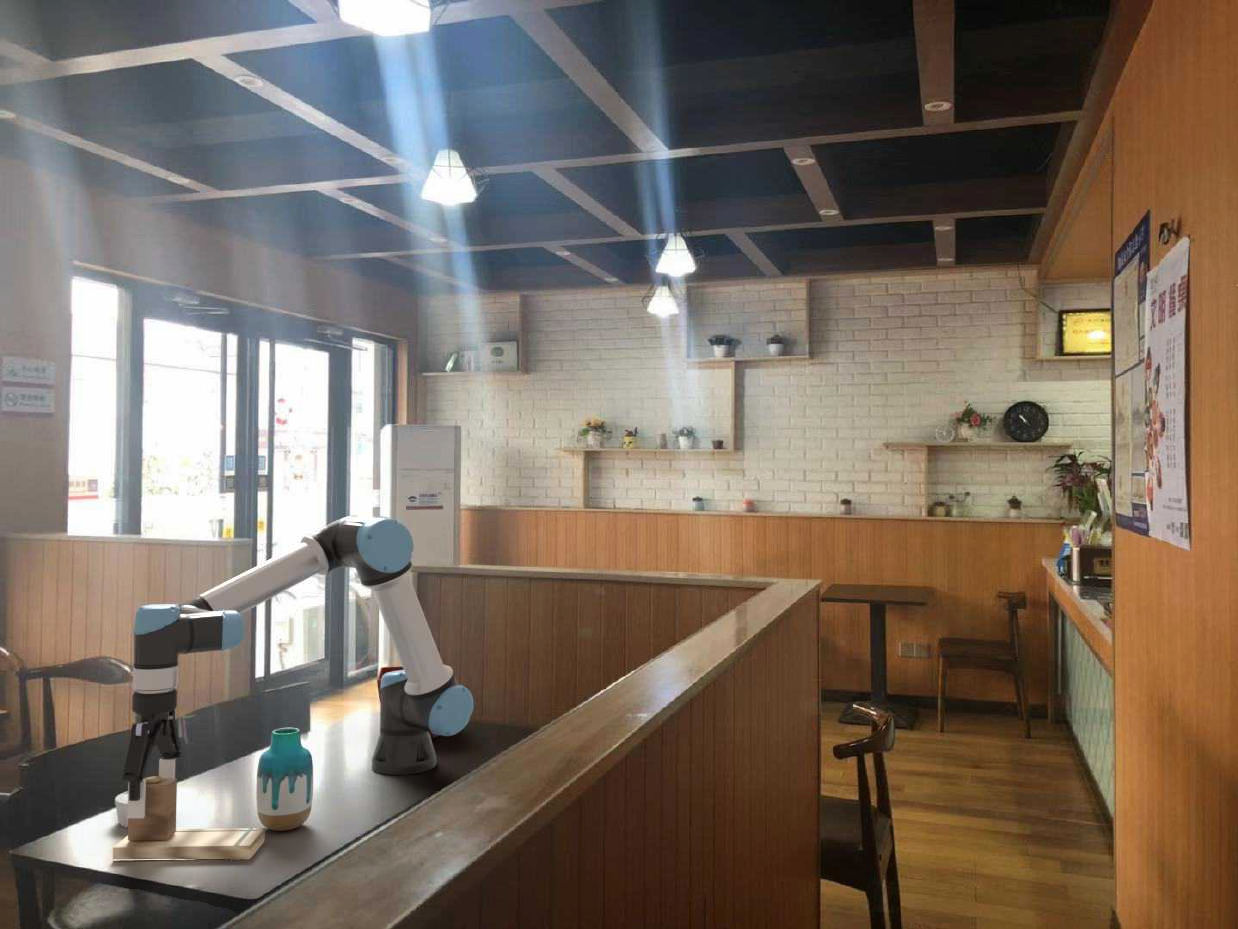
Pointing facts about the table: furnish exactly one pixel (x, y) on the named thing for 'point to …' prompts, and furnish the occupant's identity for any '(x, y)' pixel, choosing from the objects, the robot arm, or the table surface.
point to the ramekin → (122, 808)
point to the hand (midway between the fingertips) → (151, 805)
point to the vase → (284, 782)
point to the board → (195, 845)
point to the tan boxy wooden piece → (156, 811)
